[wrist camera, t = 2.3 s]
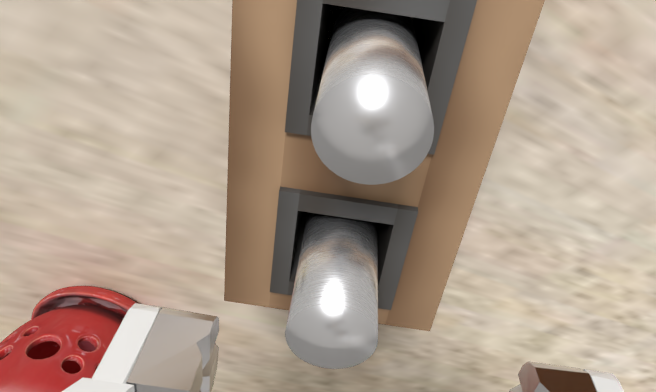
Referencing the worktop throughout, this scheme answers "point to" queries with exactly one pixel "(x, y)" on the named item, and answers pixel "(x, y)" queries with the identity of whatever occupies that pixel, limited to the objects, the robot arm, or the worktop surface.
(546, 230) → the worktop surface
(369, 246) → the far peg
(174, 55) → the worktop surface
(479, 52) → the socket block
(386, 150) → the near peg
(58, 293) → the plant pot
